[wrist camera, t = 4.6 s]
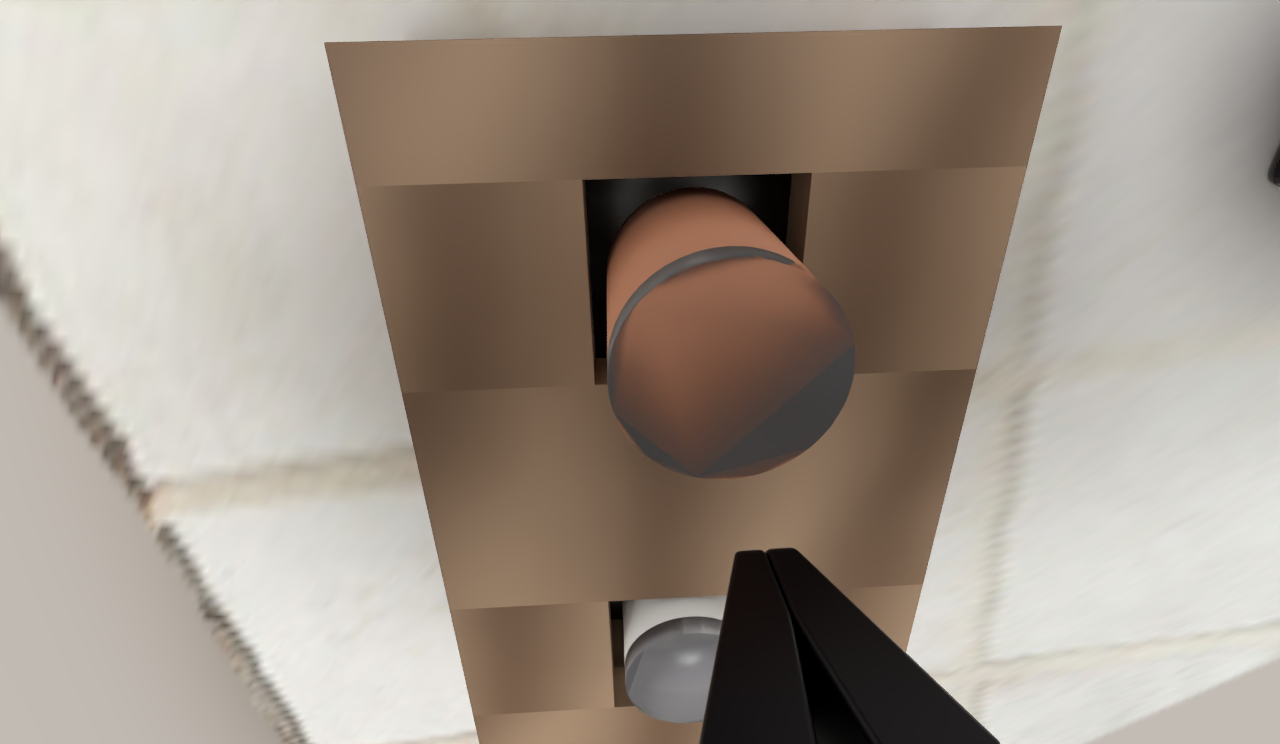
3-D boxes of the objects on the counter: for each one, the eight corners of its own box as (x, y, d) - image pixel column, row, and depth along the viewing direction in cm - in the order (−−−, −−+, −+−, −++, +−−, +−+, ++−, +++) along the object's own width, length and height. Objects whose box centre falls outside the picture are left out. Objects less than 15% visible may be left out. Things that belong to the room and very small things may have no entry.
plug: (729, 505, 23) (763, 629, 18) (724, 586, 24) (754, 719, 20) (619, 511, 23) (623, 637, 18) (622, 592, 24) (627, 727, 19)
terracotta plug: (779, 184, 14) (872, 251, 9) (767, 345, 16) (838, 474, 11) (602, 189, 14) (601, 261, 9) (610, 351, 16) (612, 485, 11)
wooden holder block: (938, 34, 16) (1061, 25, 12) (837, 624, 26) (883, 739, 22) (402, 46, 16) (324, 42, 12) (505, 642, 26) (484, 763, 21)
